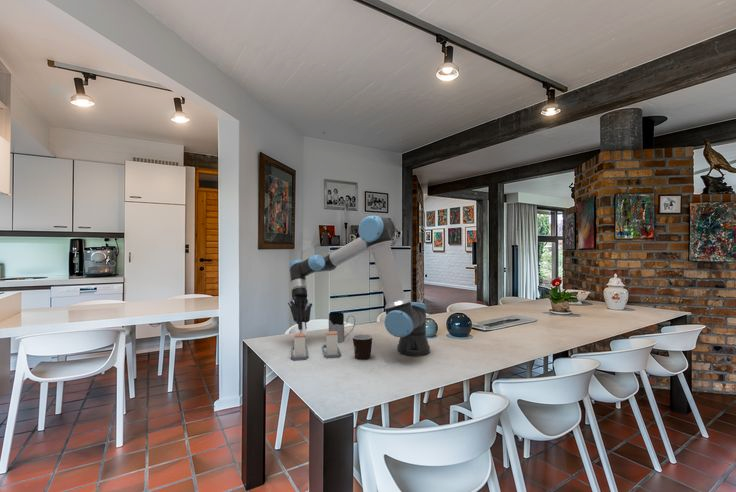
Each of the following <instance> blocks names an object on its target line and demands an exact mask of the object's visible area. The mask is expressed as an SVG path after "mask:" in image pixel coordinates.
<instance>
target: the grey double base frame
mask: <svg viewBox="0 0 736 492" xmlns="http://www.w3.org/2000/svg"><path fill="white" fill-rule="evenodd" d="M325 349H326V343H325V344H323V345H322V346H321V351H322V355H323V358H325V359H340V358H341V357H342V353H341V350H340V348H339V347H338V354H330V355H327V354H326V350H325ZM290 350H291V351H290V360H291V361H292V362H293V361H308V360H307V359H309V358H310V357H309V355H310V354H309V348H308V346H307V345H305V356H298V357H294V345H293V346H292V347H291V348H290Z"/></svg>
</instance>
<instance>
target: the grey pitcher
mask: <svg viewBox="0 0 736 492" xmlns="http://www.w3.org/2000/svg"><path fill="white" fill-rule="evenodd" d="M350 317H352V318H353V319H354V320H356V317H355V315H348V316H347V318H346V323H344V322H345V321H344V320H345V313H344V312H330V313H328V332H331V331H337V333H338V344H342V343H344V342H345V339H346V337H347V336H348V335H350V333H351V332H353V330H354V328H355V326H356V321H354V323H353V326H352V328H351V329H350V331H349V332H348V333H346V335H345V325H348V320H349V318H350Z"/></svg>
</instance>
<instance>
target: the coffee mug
mask: <svg viewBox="0 0 736 492" xmlns="http://www.w3.org/2000/svg"><path fill="white" fill-rule="evenodd" d="M352 342H353V351H354V359H356V360H360V361H366V360H370V359H371V355H372V353H371V352H372V346H373V335H371V334H355V335H353V336H352Z"/></svg>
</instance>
